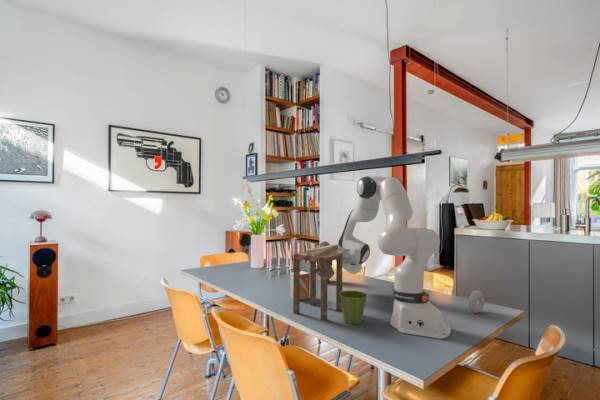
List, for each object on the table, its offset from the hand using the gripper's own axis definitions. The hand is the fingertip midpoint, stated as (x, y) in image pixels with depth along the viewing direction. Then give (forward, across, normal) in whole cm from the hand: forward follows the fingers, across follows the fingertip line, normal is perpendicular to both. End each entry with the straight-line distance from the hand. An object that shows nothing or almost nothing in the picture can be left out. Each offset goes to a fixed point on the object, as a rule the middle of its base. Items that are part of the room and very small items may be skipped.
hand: (333, 246), depth 156 cm
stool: (-2, 0, +31) cm, 31 cm away
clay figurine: (-44, -24, +7) cm, 51 cm away
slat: (+7, 0, +6) cm, 9 cm away
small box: (-12, -18, +25) cm, 33 cm away
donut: (-36, +59, +11) cm, 70 cm away
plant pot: (0, +18, +32) cm, 37 cm away
